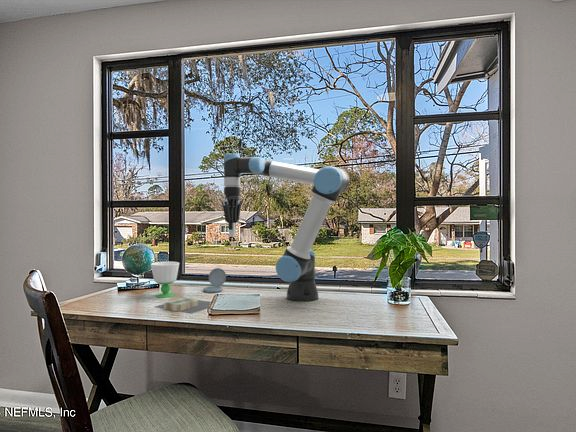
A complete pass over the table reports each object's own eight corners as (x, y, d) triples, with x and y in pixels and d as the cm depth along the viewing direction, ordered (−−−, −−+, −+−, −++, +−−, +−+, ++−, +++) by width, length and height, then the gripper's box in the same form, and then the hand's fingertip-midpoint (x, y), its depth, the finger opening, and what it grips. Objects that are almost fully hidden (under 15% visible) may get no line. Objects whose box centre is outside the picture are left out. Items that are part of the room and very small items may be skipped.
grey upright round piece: (227, 268, 229) (216, 272, 214) (227, 288, 229) (216, 294, 215) (209, 267, 231) (197, 272, 217) (209, 288, 232) (198, 293, 217)
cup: (152, 299, 204) (151, 266, 203) (149, 293, 216) (149, 262, 216) (181, 297, 209) (181, 264, 208) (177, 291, 221) (177, 260, 221)
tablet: (198, 299, 189) (177, 305, 179) (198, 305, 189) (178, 311, 179) (184, 297, 193) (164, 302, 183) (184, 303, 193) (164, 309, 183)
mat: (223, 305, 193) (223, 303, 193) (191, 315, 175) (191, 313, 175) (186, 299, 204) (186, 298, 204) (153, 308, 187) (153, 306, 187)
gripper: (234, 187, 212) (234, 235, 213) (216, 186, 201) (217, 237, 202) (246, 186, 208) (246, 235, 209) (229, 185, 197) (229, 237, 198)
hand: (232, 236), depth 205 cm, fingers closed
